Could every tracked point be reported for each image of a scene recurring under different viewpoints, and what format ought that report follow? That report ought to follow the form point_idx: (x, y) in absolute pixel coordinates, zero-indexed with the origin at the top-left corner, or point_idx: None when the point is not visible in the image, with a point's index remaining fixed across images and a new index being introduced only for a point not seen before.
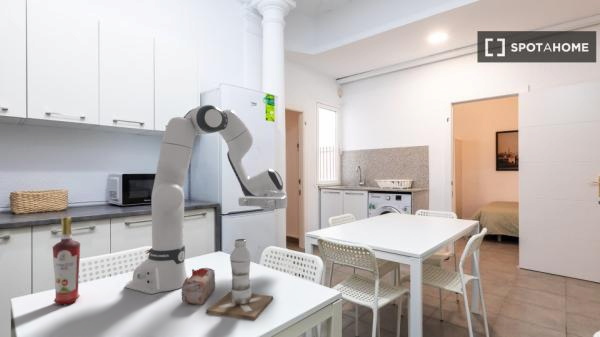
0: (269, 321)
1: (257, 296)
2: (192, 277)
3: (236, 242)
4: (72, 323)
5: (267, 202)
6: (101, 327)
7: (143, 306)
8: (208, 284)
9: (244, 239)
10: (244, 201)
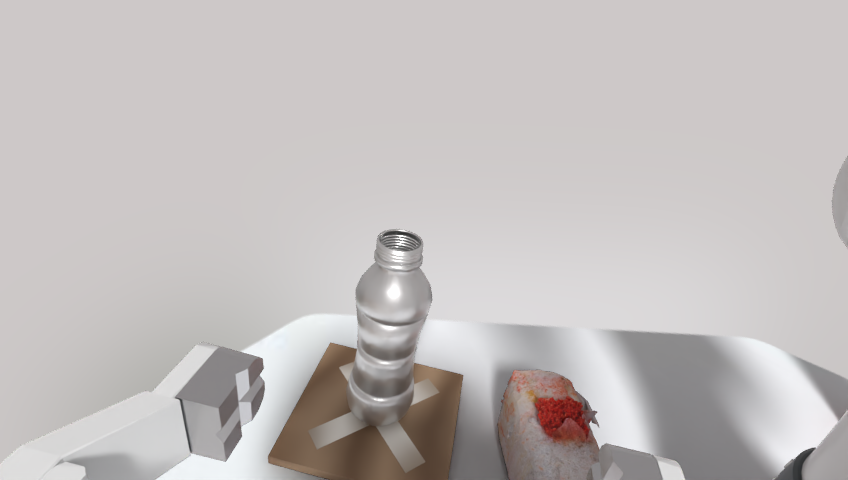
0: (293, 342)
1: (328, 453)
2: (562, 390)
3: (411, 236)
4: (709, 356)
5: (221, 348)
6: (636, 341)
7: (653, 421)
8: (511, 427)
9: (387, 248)
10: (640, 452)
